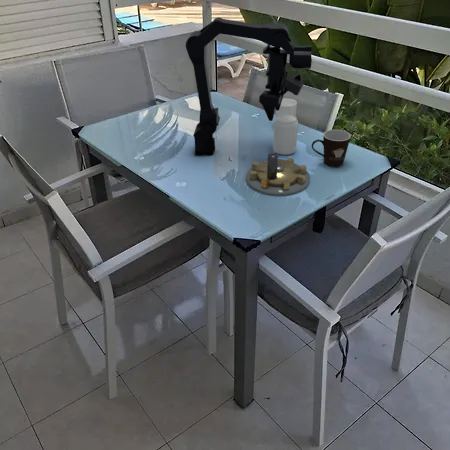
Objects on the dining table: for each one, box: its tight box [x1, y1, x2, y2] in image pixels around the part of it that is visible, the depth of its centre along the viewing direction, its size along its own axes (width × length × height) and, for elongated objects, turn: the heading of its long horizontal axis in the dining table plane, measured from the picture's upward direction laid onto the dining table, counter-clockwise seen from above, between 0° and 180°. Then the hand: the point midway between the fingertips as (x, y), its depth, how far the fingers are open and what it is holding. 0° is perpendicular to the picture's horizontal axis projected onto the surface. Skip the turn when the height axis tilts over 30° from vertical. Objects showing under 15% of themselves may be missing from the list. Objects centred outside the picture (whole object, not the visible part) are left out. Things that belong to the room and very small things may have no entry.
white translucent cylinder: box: [275, 97, 298, 118], centre depth 180 cm, size 8×8×10 cm
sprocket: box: [249, 152, 308, 190], centre depth 147 cm, size 18×18×10 cm
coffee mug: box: [311, 129, 352, 168], centre depth 156 cm, size 12×9×10 cm
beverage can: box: [272, 114, 299, 156], centre depth 164 cm, size 8×8×12 cm
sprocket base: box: [245, 164, 311, 197], centre depth 150 cm, size 20×20×1 cm
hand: (274, 115), depth 158 cm, fingers open, 9 cm apart
